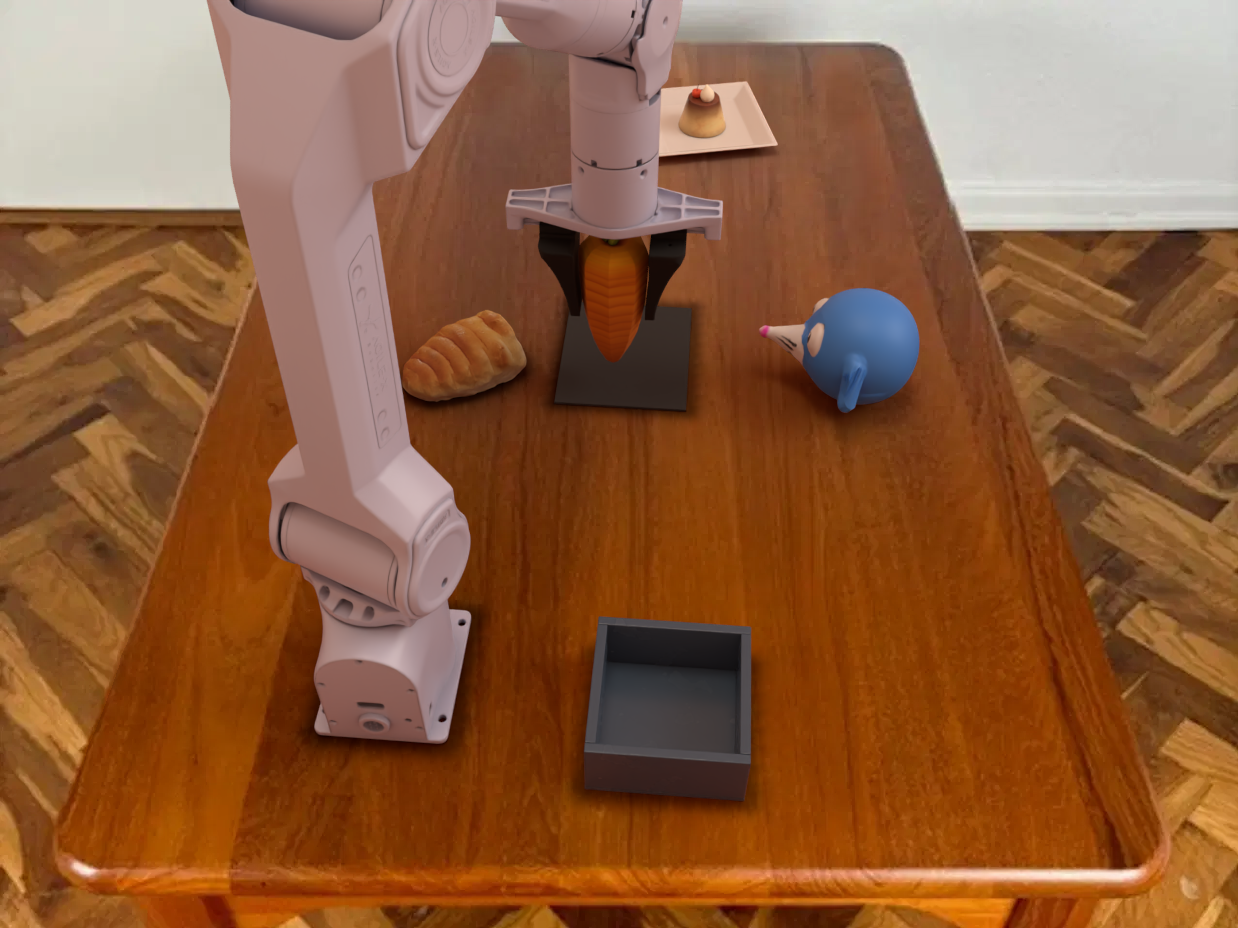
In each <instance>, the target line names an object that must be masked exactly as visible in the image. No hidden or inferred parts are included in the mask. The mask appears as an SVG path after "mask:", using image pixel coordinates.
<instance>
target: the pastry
mask: <svg viewBox="0 0 1238 928" xmlns="http://www.w3.org/2000/svg"><path fill="white" fill-rule="evenodd" d="M526 366H527V356H526V353H525V351H524V349H523V346H522V344H521V343H520V341H519V340H518V338H517V336H516V333H515V331H514V329H513V327H512V326H511V325H510V324H509V322H508V321H507V320H506V319H505V318H504V317H503V315H501V314H500V313H497V312H494V311H492V310H489V309H483V311H479V312H477V314H475V315H473V316H470V317H466V318H462V319H459V320H457V321H455V322H454V323H449V324H446V325H444V326H443V327H441V328H440V329H439V330H438V331H437V332H436V333H435V334H434V335H432V336H431V337H430V338H429V339H428V340H427V341H426V342H425V343H424V344H423V345H421V346H420V347H419V348H418V349H417V350H416V351H415V352H414V353H413V354H411V356H410V358H409V359H408V360H407V361H406V362H405V363H404V364H403V367H402V379H401V385H402V389H404V390H405V392H406V393H408V394H409V395H410V396H413V397H415V398H418V399H420V400H423V401H427V402H436V403H438V402H440V401H450V400H451V399H453V398H461V397H462V398H467V397H470V396H474V395H476V394H477V393H483V392H485V391H488V390H489V389H492V388H495V387H496V386H497V385H499V384H502V383H507V382H509V381H512V380H513V379H514V378H516V377H517V375H518V374H520V373H521V372H522V370H523V369H524V368H525V367H526Z"/></svg>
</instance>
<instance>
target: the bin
mask: <svg viewBox="0 0 1238 928" xmlns="http://www.w3.org/2000/svg"><path fill="white" fill-rule="evenodd" d="M597 618H598V619H597V627H596V636H595V643H594V644H595V645H594V655H593V663H592V673H591V682H590V690H589V698H588V700H589V701H588V709H587V719H586V727H585V737H584V746H583V770H584V771H583V772H584V790H591V791H600V792H601V791H602V792H614V793H615V792H616V793H628V794H629V793H631V794H641V795H642V794H643V795H656V796H667V797H668V796H670V797H682V798H696V799H710V800H720V801H721V800H722V801H735V802H736V801H737V802H745V800H746V799H745V798H746V793H747V788H748V787H747V786H748V782H749V776H750V772H751V771H750V770H751V765H752V627H751V626H748V625H747V626H746V625H745V626H744V625H734V624H733V625H732V624H731V625H730V624H716V623H702V622H687V621H672V620H658V619H646V618H645V619H644V618H643V619H642V618H629V617H615V616H614V617H613V616H601V615H600V616H598V617H597Z"/></svg>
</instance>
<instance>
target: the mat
mask: <svg viewBox="0 0 1238 928" xmlns="http://www.w3.org/2000/svg"><path fill="white" fill-rule="evenodd" d="M645 306H646V304H645V305H644V309H643V313H642V317H641V321H640V324H639V327H638V331H637V333H636V335H635V337H634V339H633V341H632V343H631V345H630V346H629V347H628V349H627V350H626V352H625V353H624V354H623V356H622V357H621V358H620V359H619V361H617V362H614V363H612V362H610V361H608V360H606V358H605V357H604V356H603V354H602V353H601V352H600V350H599V348H598V346H597V344H596V342H595V340H594V338H593V335H592V332H591V330H590V327H589V323H588V320H587V316H586V313H585V308H584V304H583V301H582V305H581V311H580V316H571V315H570V311H569V310H568V316H567V322H566V329H565V335H564V340H563V347H562V351H561V359H560V364H559V365H560V366H559V371H558V378H557V384H556V389H555V395H554V401H553V403H554V405H571V406H586V407H604V408H621V409H636V410H653V411H667V412H668V411H669V412H687V399H688V385H689V383H688V380H689V378H688V377H689V366H690V365H689V362H690V347H691V329H692V313H693V311H692V307H677V306H661V305H658V306H657V309H656V313H655V320H645Z"/></svg>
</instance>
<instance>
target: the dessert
mask: <svg viewBox="0 0 1238 928" xmlns="http://www.w3.org/2000/svg"><path fill="white" fill-rule="evenodd" d="M778 144H779V143H778V141H777V139H776V137H775V135H774V134H773V131H772V129H771V128H770V126H769V123H768V121H767V119H766V118H765V115H764V113H763V111H762V109H761V107H760V105H759V103H758V100H757V99H756V97H755V95H754V92H753V90H752V89H751V86H750V84H749V83H748V81H747V80H745V81H744V80H743V81H734V82H723V83H713V84H712V83H710V84H708V83H706V84H700V83H699V84H697V85H686V86H674V87H661V110H660V139H659V158H661V157H664V158H665V157H676V156H677V157H678V156H687V155H697V154H708V153H709V154H710V153H720V152H729V151H730V152H731V151H740V150H741V151H742V150H750V149H751V150H752V149H761V148H771V147H776V146H778Z"/></svg>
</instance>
